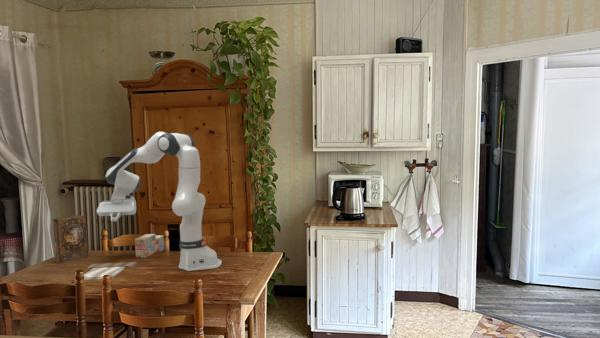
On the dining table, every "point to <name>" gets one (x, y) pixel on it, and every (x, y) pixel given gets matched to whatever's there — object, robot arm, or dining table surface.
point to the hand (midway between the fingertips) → (113, 220)
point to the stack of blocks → (148, 245)
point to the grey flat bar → (113, 265)
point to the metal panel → (103, 272)
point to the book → (70, 238)
